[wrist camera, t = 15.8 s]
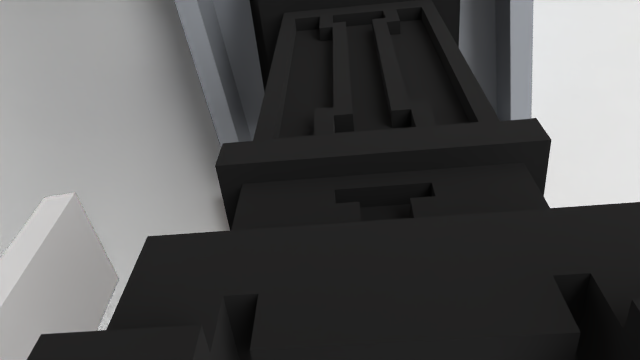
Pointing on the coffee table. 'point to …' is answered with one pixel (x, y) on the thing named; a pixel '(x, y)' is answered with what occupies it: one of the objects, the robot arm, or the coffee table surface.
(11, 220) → the coffee table surface
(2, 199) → the coffee table surface
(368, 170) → the chess piece
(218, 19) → the tray
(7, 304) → the robot arm
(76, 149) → the coffee table surface
